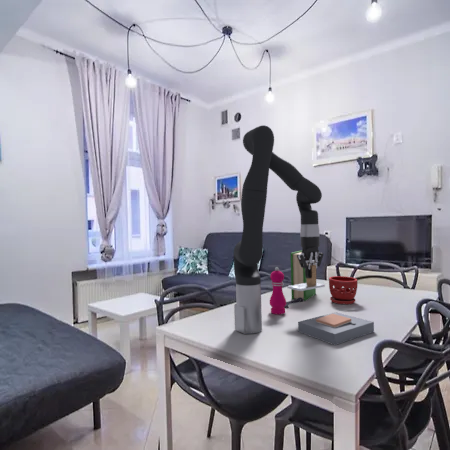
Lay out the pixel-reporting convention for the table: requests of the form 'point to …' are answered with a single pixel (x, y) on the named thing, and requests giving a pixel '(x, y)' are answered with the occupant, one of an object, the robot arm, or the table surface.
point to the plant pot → (342, 289)
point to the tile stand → (336, 329)
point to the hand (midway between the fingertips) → (311, 277)
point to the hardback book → (299, 278)
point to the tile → (333, 320)
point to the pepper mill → (277, 293)
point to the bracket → (294, 301)
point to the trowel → (308, 282)
